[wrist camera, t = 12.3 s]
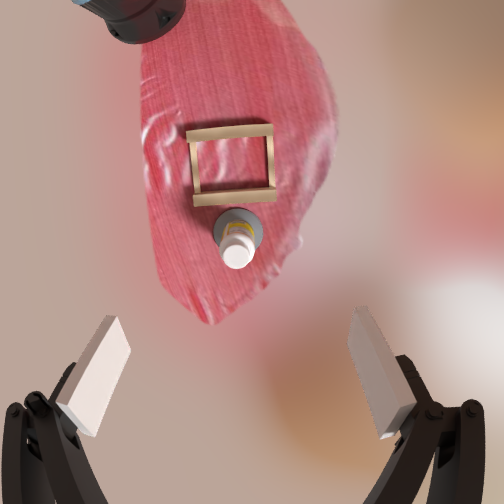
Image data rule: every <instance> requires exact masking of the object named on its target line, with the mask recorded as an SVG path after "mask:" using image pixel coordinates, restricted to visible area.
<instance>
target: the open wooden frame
mask: <svg viewBox="0 0 504 504" xmlns="http://www.w3.org/2000/svg"><path fill="white" fill-rule="evenodd" d="M256 136H267V154H268V172H269V187H260V188H243V189H229V190H217V191H205V192H201V188H200V178H199V169H198V159H197V148H196V142H199V141H207V140H217V139H228V138H241V137H256ZM273 136H274V135H273V124H255V125H240V126H228V127H217V128H208V129H199V130H191V131H186V137H187V143H190V153H191V163H192V172H193V182H194V190H195V193H194V195H193V203H194V207H198V206H209V205H222V204H236V203H252V202H270V201H277V197H276V188H275V170H274V151H273Z"/></svg>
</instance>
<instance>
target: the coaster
mask: <svg viewBox="0 0 504 504" xmlns="http://www.w3.org/2000/svg"><path fill="white" fill-rule="evenodd" d="M236 219H241V220H244V221H246V222H248V223H249V224H250V225H251V226H252V228H253V231H254V244H255V249H257V247H258V246H259V245H260V243H261V241H262V238H263V227H262V224H261V222H260V220H259V218H258V217H257V216H256V215H255V214H254V213H252V212H251V211H249V210H246V209H241V208H235V209H230V210H228V211H226V212H224V213H223V214H221V215H220V216H219V218H218V219H217V221H216V223H215V225H214V231H213V233H214V239H215V241H216V243H217V245H218V246H220V242H221V238H222V234H223V230H224V228H225V226H226V225H227V224H228V223H229V222H230V221H232V220H236Z"/></svg>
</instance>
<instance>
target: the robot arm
mask: <svg viewBox="0 0 504 504" xmlns="http://www.w3.org/2000/svg"><path fill="white" fill-rule="evenodd" d="M72 2H73V3H75V4H78V5H80V6H82V7H84V8H86V9H87V10H89V11H91V12H93V13H95V14H96V15H98V16H100V17H101V18H103V19H104V20H105V22H106V25H107V27H108V30H109V31H110V33H111V34H112V35H113V36H114V37H115V38H117V39H118V40H120V41H122V42H124V43H128V44H142V43H147V42H150V41H153V40H155V39H157V38H159V37H161V36H163V35H164V34H166V33H167V32H168V31H170V30H171V29H172V28H173V27H174V26H175V25H176V24H177V23H178V22H179V20H180V19H181V17H182V15H183V13H184V11H185V7H186V0H72ZM347 346H348V349H349V351H350V354H351V356H352V359H353V362H354V365H355V367H356V370H357V373H358V376H359V379H360V381H361V384H362V387H363V390H364V393H365V395H366V398H367V401H368V404H369V407H370V410H371V413H372V416H373V419H374V422H375V426H376V429H377V432H378V435H379V438H380V439H383V438H386V437H390V436H393V435H395V434H396V433H397V431H398V430H400V433H401V437H400V438H399V440H398V441H397V442H396V443H395V445H396V447H395V449H394V451H393V453H392V455H391V457H390V459H389V461H388V462H387V464H386V466H385V468H384V470H383V472H382V473H381V475H380V477H379V479H378V480H377V482H376V484H375V485H374V487H373V489H372V490H371V492H370V493H369V495H368V497H367V498H366V500H365V501H364V503H363V504H412V502H413V500H414V498H415V497H416V495H417V493H418V490H419V488H420V486H421V484H422V482H423V479H424V477H425V475H426V473H427V470H428V468H429V465H430V463H431V460H432V458H433V455H434V453H435V457H434V464H433V471H432V477H431V484H430V488H429V493H428V498H427V503H426V504H481V502H482V494H483V485H484V472H485V421H484V410H483V406H482V405H481V404H480V403H479V402H478V401H477V400H473V399H470V400H467V401H465V402H464V403H463V404H462V406H461V407H448V408H447V407H443V406H442V405H441V404H440V403H438V402H434V401H433V400H432V398H431V396H430V394H429V392H428V390H427V389H426V386H425V384H424V382H423V380H422V379H421V377H420V375H419V373H418V371H416V368H415V366H414V364H413V362H412V361H411V360H410V359H409V358H408V357H407V356H405V355H400V356H396V357H395V356H394V354H393V353H392V351H391V349H390V347H389V345H388V343H387V341H386V339H385V337H384V336H383V334H382V332H381V330H380V328H379V326H378V325H377V323H376V321H375V319H374V318H373V316H372V314H371V312H370V310H369V309H368V307H367V306H360V307H354V309H353V315H352V321H351V326H350V331H349V337H348V341H347ZM130 352H131V349H130V347H129V345H128V342H127V340H126V337H125V335H124V332H123V330H122V328H121V325H120V322H119V320H118V317H117V316H106V317H105V318H104V320H103V321H102V323H101V324H100V326H99V328H98V329H97V331H96V332H95V334H94V335H93V337H92V339H91V340H90V342H89V343H88V345H87V347H86V348H85V350H84V352H83V353H82V355H81V357H80V358H79V360H78V362H77V363H75V362H73V363H72V364H71V365H70V366H68V367H67V369H66V370H65V372H64V373H63V377H61V379H60V380H59V382H58V384H57V386H56V387H55V389H54V391H53V393H52V395H51V396H50V398H49V400H47V399H46V397H45V396H44V395H43V394H42V393H41V392H39V391H34V392H32V393H30V394H28V396H27V397H26V398H25V401H24V405H25V407H26V408H27V409H25V408H24V407H23V406H22V405H21V404H20V403H17V402H15V403H13V404H11V405H10V406H9V407H8V408H7V411H6V417H5V425H4V434H3V445H2V499H3V504H55V500H56V503H57V504H108V502H107V500H106V499H105V497H104V495H103V493H102V491H101V489H100V487H99V485H98V482H97V480H96V478H95V476H94V474H93V471H92V469H91V467H90V464H89V462H88V460H87V457H86V455H85V452H84V450H83V447H82V444H81V441H80V439H79V436H78V435H77V433H76V431H77V428H78V429H79V430H80V431H81V432H82V433H83V434H85V435H89V436H92V437H95V436H96V434H97V431H98V428H99V426H100V423H101V421H102V418H103V416H104V413H105V410H106V407H107V406H108V403H109V400H110V398H111V395H112V393H113V391H114V389H115V386H116V384H117V382H118V379H119V377H120V375H121V372H122V370H123V368H124V366H125V363H126V361H127V359H128V357H129V354H130ZM27 439H28V444H27Z"/></svg>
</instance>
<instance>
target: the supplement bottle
mask: <svg viewBox="0 0 504 504" xmlns="http://www.w3.org/2000/svg"><path fill="white" fill-rule="evenodd" d="M219 253H220V256H221V258H222V259H223V260H224V262H225V264H226V265H227V266H229V267H231V268H234V269H239V268H242V267H244V266H246V265H247V263H249V262H250V261H251V260H252V258H253V256H254V253H255V244H254V231H253V228H252V226H251V225H250V224H249V223H248V222H246V221H244V220H241V219H236V220H232V221H230V222H229V223H228V224H227V225H226V226H225V228H224V230H223V234H222V238H221V242H220V246H219Z"/></svg>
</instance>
